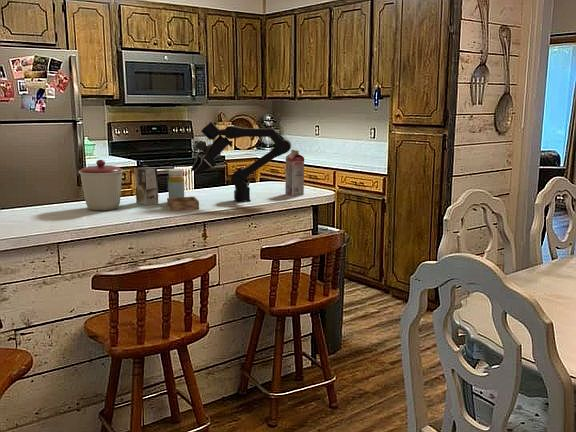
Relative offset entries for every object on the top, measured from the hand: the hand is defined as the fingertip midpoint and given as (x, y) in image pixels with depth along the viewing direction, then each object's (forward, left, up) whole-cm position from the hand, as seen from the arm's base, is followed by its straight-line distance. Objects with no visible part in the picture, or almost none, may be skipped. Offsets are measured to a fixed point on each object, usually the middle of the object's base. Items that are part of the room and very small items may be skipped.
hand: (193, 171), depth 257 cm
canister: (+40, +6, -14) cm, 43 cm away
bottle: (+8, 0, -14) cm, 16 cm away
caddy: (+7, +13, -14) cm, 20 cm away
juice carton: (-51, -5, -14) cm, 53 cm away
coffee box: (+21, -1, -14) cm, 25 cm away
